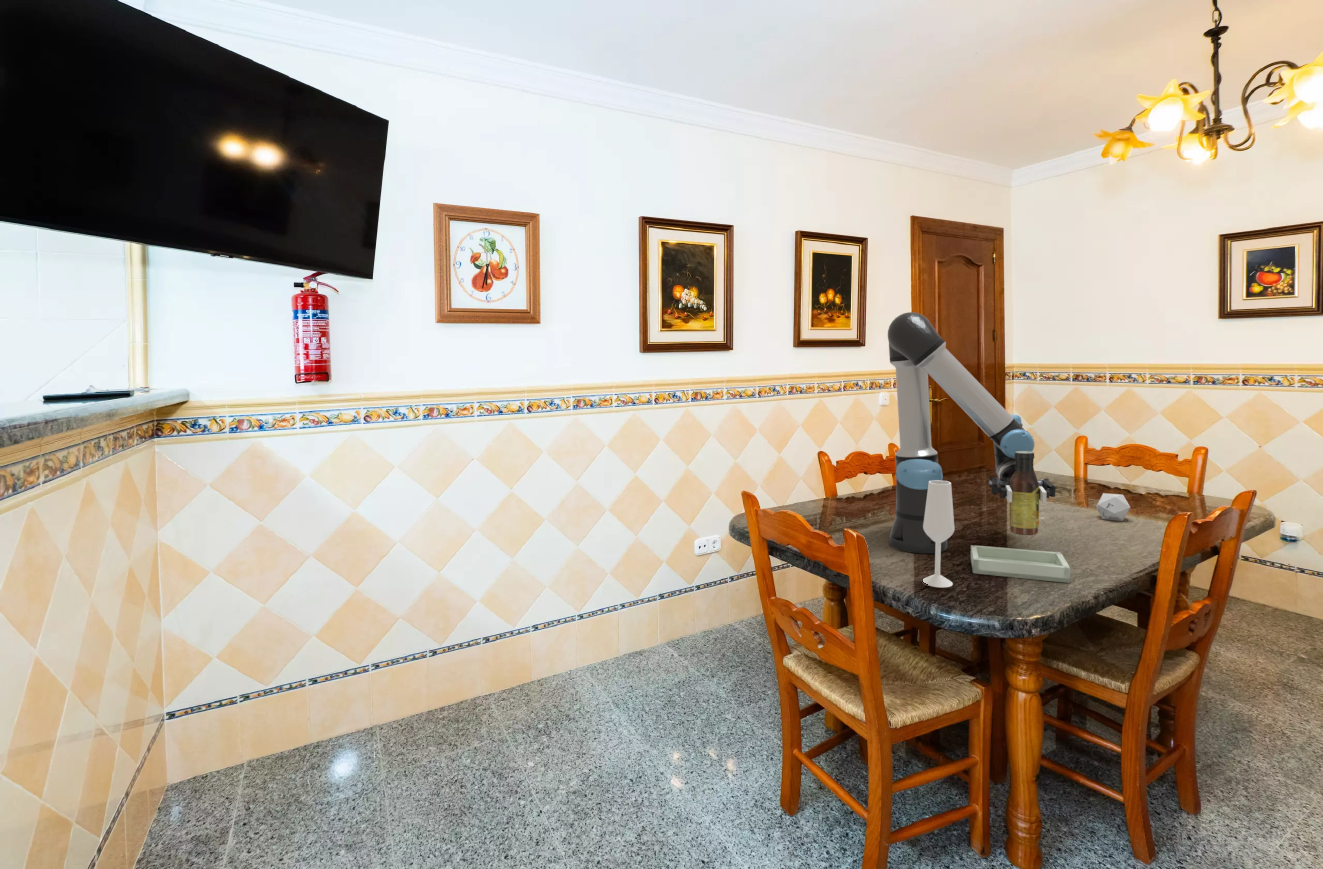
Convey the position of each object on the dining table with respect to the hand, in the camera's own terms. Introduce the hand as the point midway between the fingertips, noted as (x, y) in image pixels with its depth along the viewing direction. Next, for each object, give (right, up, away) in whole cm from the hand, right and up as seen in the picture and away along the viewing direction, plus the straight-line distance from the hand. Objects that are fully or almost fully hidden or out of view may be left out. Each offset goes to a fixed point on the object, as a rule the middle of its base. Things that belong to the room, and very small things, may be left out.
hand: (1027, 497), depth 145 cm
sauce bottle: (+3, -9, +6) cm, 11 cm away
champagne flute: (-20, -20, +1) cm, 29 cm away
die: (+55, -12, +48) cm, 74 cm away
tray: (+2, -19, +8) cm, 20 cm away
